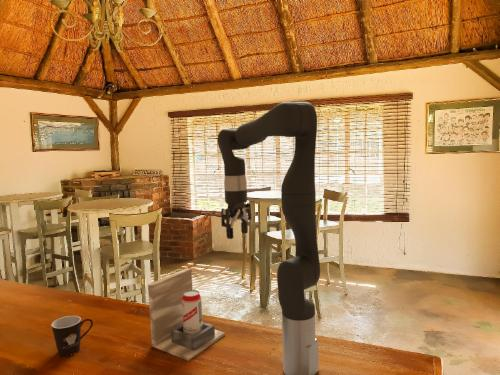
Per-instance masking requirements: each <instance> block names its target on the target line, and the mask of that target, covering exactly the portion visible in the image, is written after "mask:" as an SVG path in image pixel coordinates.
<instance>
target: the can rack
mask: <svg viewBox="0 0 500 375" xmlns="http://www.w3.org/2000/svg"><path fill="white" fill-rule="evenodd" d="M192 274H193V273H192V268H188V267H187V268H184V269H181V270H180V271H177V272H175V273H173V274H170V275H167V276H165V277H162V278H160V279H158V280H156V281H153V282H151V283H147V290H148V292H147V293H148V305H149V308H148V309H149V321H150V333H151V334H150V335H151V336H150V337H151V347H152V348H155V349H158V350H160V351H162V352H166V353H167V354H170V355H172V356H174V357H178V358H180V359H182V360H185V361H187V362H189V361H191V360H192V359H193V358H194V357H196V356H198V355H199V354H201V353H202V352H203V351H204V350H206V349H207V348H209V347H210V346H212V345H214V344H215V343H217V342H218V341H219V340H221V339H222V338H224V337H225V336H226V332H224V331H221V330H217V329H215V325H214V324H211V323H207V322H204V321H202V323H203V330H202V331H201V332H199V333H198V334H196V335H194V336H192V335H189V334H186V333H184V329H183V311H182V297H183V293H184V292H186V291H189V290H193V275H192Z"/></svg>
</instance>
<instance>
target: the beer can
mask: <svg viewBox="0 0 500 375" xmlns="http://www.w3.org/2000/svg"><path fill="white" fill-rule="evenodd" d="M201 296H202V295H201V294H200V291H199V290H197V289H192V290H189V291H186V292H184V293H183V297H182V311H183V329H184V333H186V334H189V335H192V336H194V335H196V334H198V333H199V332H201V331H202V330H203V323H202V322H203V308H202V307H203V306H202V304H203V303H202V297H201Z"/></svg>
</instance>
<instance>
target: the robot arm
mask: <svg viewBox="0 0 500 375" xmlns="http://www.w3.org/2000/svg"><path fill="white" fill-rule="evenodd" d="M317 132H318V115H317V111H316V108H315V106H314V105H313V104H312V103H311V102H308V101H283V102H280V103H278V104H276V105H275V106H273V107H272V108H271V109H269V110H268V111H267V112H266V113H264V114H262V115H261V116H259V117H258V118H256V119H254V120H251V121H248V122H246V123H243V124H241V125H239V126H238V127H237V128H223V129H221V130H220V131H219V132H218V133H217V145H218V148H219V151H220V156H221V158H222V161H223V165H224V166H223V168H224V170H223V171H224V173H223V174H224V178H223V179H224V180H223V181H224V182H223V184H224V186H223V187H224V189H223V190H224V203H226V205H227V208H223V207H222V208H221V212H220V213H221V215H220V216H221V219H220V220H221V221H220V222H221V228H222V227H223V228H225V229H226V230H225V232H226V239H228V240H232V239H234V224H235V223H236V222H237V220H238V219H239V220H240V222H241V223H240V228H241V230H240V232H241V233H242V234H248V233H249V231H248V230H249V229H248V227H249V225H248V223H249V221H250V220H252V208H251V207H252V206H251V203H250V202H248V185H247V176H246V160H245V159H244V158H243V157H240V156H235V154H234V151H238V150H239V151H242V150H246V149H248V148H249V147H251V146H254V145H257V144H260V143H262V142H264V141H265V140H266V139H267V138H268V137H285V138H294V141H295V142H294V154H293V159H292V161H291V163H290V166H289V168H288V169H287V171H286V173H285V175H284V178H283V181H282V184H281V192H280V194H281V210H282V214H283V216H284V218H285V220H286V222H287V224H288V225H289V227H290V229H291V231H292V233H293V236H294V241H295V242H294V244H295V253H294V254H295V255H294V257H289V258H288V259H285V260H283V261H281V262H280V263H279V265H278V267H277V271H276V280H277V281H276V282H277V296H278V302H279V306H280V308H281V327H282V328H281V330H282V331H281V332H282V336H281V337H282V366H283V368H282V369H283V373H284V375H316V374H317V373H318V371H320V370H319V369H320V368H319V367H320V366H319V360H320V359H319V339H318V338H316V306H315V303H314V302H313V301H312V300H310V299H308V298H306V297H305V290H307V289H310V288H312V287H314V286H315V285H316V284H317V283H318V282H319V280H320V277H321V263H320V255H319V247H318V239H317V237H318V236H317V219H316V218H317V214H316V210H317V209H316V206H317V205H316V204H317V200H316V199H317V198H316V194H317V192H316V145H317V136H318V135H317V134H318V133H317Z"/></svg>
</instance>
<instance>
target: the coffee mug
mask: <svg viewBox="0 0 500 375" xmlns="http://www.w3.org/2000/svg"><path fill="white" fill-rule="evenodd" d="M87 321H89V322H90V326H89V327H88V329H87V330H86V331H85V332H84V333H83V334H82V335H81V332H82V326H83V324H84V323H85V322H87ZM93 325H94V321H93V320H92V319H90V318H85V319H83V320H82V318H81V316H78V315H68V316H63V317H60V318H57V319H55V320H54V321H53V322H51V325H50V326H51V329H52V333H53V334H52V335H53V337H54V342H55V346H56V350H57V354H58V356H59V355H61V356H60V357H62V356H67V355H71V354H74V353H76V352H77V353H78V351H79V352H80V350H81V340H82V339H83V338H84V337H85V336H86V335H87V334H88V333H89V332H90V331H91V329H92V327H93ZM77 353H76V354H77ZM74 355H75V354H74ZM71 356H72V355H71ZM67 357H68V356H67Z"/></svg>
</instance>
